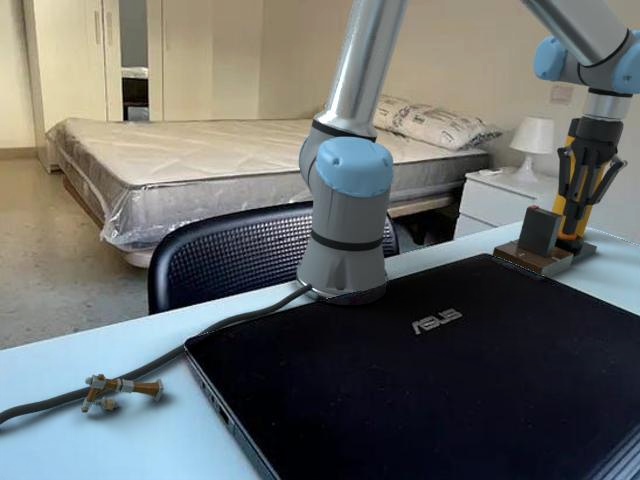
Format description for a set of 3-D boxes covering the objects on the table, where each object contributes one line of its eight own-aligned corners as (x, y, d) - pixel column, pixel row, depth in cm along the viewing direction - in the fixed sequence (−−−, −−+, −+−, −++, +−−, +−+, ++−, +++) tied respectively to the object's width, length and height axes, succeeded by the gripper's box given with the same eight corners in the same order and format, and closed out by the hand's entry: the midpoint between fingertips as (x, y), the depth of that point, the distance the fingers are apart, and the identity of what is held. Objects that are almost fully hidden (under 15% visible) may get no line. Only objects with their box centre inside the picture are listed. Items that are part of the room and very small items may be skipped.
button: (569, 245, 102) (571, 237, 102) (552, 239, 105) (555, 231, 104) (577, 242, 104) (580, 234, 104) (561, 236, 107) (563, 228, 106)
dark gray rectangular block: (551, 255, 95) (563, 214, 92) (545, 257, 94) (557, 216, 90) (523, 243, 99) (533, 204, 96) (516, 245, 98) (527, 206, 95)
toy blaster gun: (71, 404, 52) (87, 368, 51) (146, 409, 57) (161, 376, 56) (73, 416, 51) (89, 378, 50) (149, 420, 55) (165, 386, 55)
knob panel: (538, 282, 90) (543, 267, 89) (490, 261, 98) (493, 246, 96) (570, 267, 98) (574, 253, 96) (522, 248, 105) (526, 235, 104)
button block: (570, 265, 99) (575, 249, 98) (529, 248, 105) (533, 233, 104) (595, 253, 106) (600, 238, 104) (554, 238, 112) (558, 224, 111)
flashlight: (566, 114, 111) (613, 119, 109) (536, 223, 121) (579, 228, 120) (580, 121, 101) (632, 127, 100) (547, 238, 112) (594, 244, 110)
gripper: (647, 123, 92) (607, 240, 102) (577, 111, 101) (547, 219, 111) (631, 125, 88) (591, 247, 97) (560, 112, 97) (529, 225, 106)
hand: (568, 232), depth 104 cm, fingers closed
